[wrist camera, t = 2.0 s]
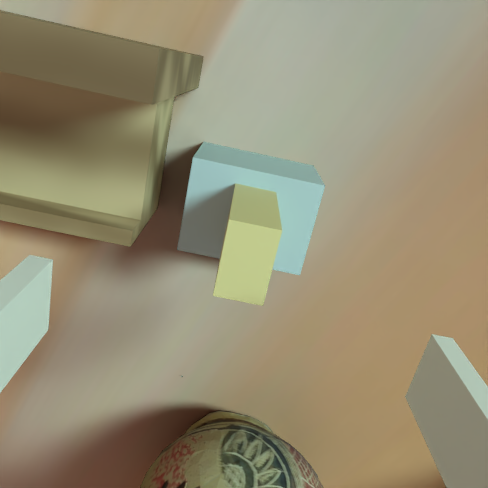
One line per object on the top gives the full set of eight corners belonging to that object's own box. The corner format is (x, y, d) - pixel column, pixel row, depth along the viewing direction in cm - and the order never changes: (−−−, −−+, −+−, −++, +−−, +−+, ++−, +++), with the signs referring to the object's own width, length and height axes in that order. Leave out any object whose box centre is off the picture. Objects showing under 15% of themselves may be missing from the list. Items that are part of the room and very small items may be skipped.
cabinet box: (292, 242, 35) (312, 333, 23) (189, 220, 35) (154, 302, 23) (313, 165, 33) (346, 222, 21) (203, 141, 33) (172, 185, 21)
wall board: (177, 211, 35) (124, 310, 21) (-12, 172, 34) (-200, 247, 20) (203, 56, 31) (159, 48, 17) (-10, 8, 30) (-242, -43, 16)
